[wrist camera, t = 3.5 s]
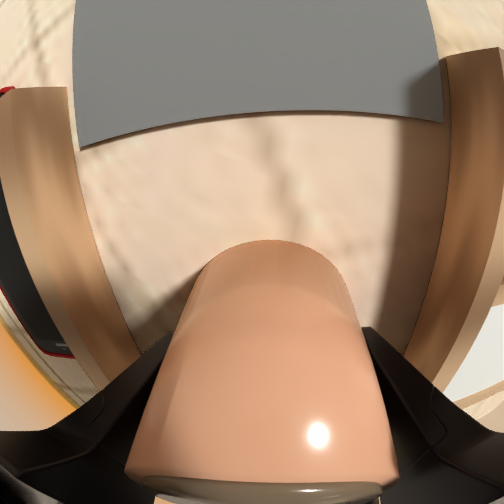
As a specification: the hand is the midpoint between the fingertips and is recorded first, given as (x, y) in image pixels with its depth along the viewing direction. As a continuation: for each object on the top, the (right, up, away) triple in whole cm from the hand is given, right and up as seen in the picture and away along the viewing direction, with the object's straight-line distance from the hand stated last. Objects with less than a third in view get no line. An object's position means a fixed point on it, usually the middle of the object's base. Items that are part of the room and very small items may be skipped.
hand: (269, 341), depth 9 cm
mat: (-1, +11, -4) cm, 12 cm away
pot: (0, +1, +1) cm, 2 cm away
